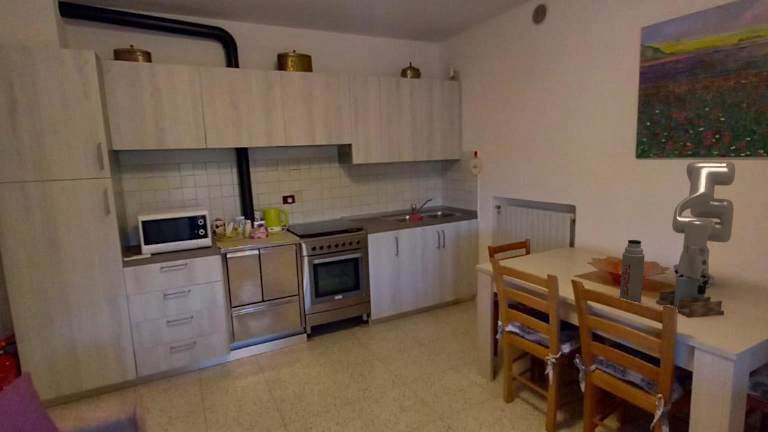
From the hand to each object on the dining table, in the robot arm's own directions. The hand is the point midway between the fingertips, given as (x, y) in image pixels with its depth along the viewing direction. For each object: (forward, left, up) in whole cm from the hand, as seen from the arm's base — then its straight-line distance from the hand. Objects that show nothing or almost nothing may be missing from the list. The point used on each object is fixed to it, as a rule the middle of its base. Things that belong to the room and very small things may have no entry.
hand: (690, 290), depth 169 cm
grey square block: (0, 0, -6) cm, 6 cm away
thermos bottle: (+19, -10, -8) cm, 23 cm away
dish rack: (0, 0, -8) cm, 8 cm away
